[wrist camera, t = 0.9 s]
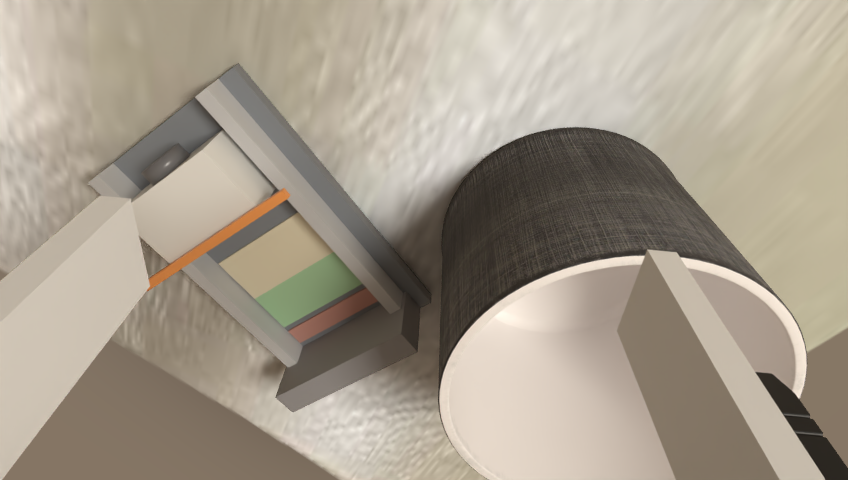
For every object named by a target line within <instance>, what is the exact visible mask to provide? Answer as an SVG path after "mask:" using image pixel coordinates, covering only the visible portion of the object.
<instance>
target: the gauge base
mask: <svg viewBox="0 0 848 480" xmlns="http://www.w3.org/2000/svg"><path fill="white" fill-rule="evenodd" d="M222 129H224V130H225V131H226V132H227V133H228V134H229V135H230V137H231V138H232V139H233V140H234V141H235V142H236V143H237V144H238V145H239V147H240V148H241V149H242V150H243V151H244V152H245V153H246V154H247V156H248V157H249V158H250V159H251V160H252V161H253V162H254V163H255V164H256V166H257V167H258V168H259V169H260V170H261V171H262V172H263V173H264V174H265V176H266V177H267V178H268V179H269V180H270V181H271V182H272V183H273V184H274V186H275V187H276V188H275V190H274V191H273V193H272V194H271V196H272V195H274V194H275V193H277V192H278V191H280V190H281V189H283V188H285V189H286V190H287V192H288V193H289V194H290V197H289V198H288V199H287V200H285V201H283V202H282V203H280V204H279V205H277V206H276V207H274V208H273V209H271V210H270V211H268V212H267V213H265V214H264V215H262V216H261V217H259V218H258V219H256V220H255V221H253V222H252V223H250V224H249V225H247V226H246V227H244V228H243V229H241V230H240V231H238V232H237V233H235V234H233V235H232V236H230V237H229V238H227V239H226V240H224V241H223V242H221V243H220V244H218V245H217V246H215V247H214V248H212V249H211V250H209V251H208V252H206V253H205V254H203V255H202V256H200V257H199V258H197V259H196V260H194V261H193V262H191V263H190V264H188V265H187V266H185V267H183V268H182V270H183V271H184V272H185V273H186V274H187V275H188V276H189V277H190V278H191V279H192V280H193V281H195V282H196V283H197V284H198V285H199V286H200V287H201V288H202V289H203V290H204V291H205V292H206V293H208V294H209V295H210V296H211V297H212V298H213V299H214V300H215V301H216V302H217V303H218V304H219V305H221V306H222V307H223V308H224V309H225V310H226V311H227V312H228V313H229V314H230V315H231V316H233V317H234V318H235V319H236V320H237V321H238V322H239V323H240V324H241V325H242V326H243V327H244V328H246V329H247V330H248V331H249V332H250V333H251V334H252V335H253V336H254V337H255V338H256V339H257V340H259V341H260V342H261V343H262V344H263V345H264V346H265V347H266V348H267V349H268V350H269V351H270V352H272V353H273V354H274V355H275V356H276V357H277V358H278V359H279V360H280V361H281V362H282V363H283V364H285V365H286V369H285V372H284V375H283V378H282V380H281V383H280V386H279V389H278V392H277V395H276V398H277V399H278V400H279V401H280V402H281V403H282V404H284V405H285V406H286V407H287V408H288V409H289V410H290V411H292V412H295V411H297V410H299V409H301V408H303V407H305V406H307V405H309V404H311V403H313V402H315V401H317V400H319V399H321V398H323V397H325V396H328V395H330V394H332V393H334V392H336V391H338V390H340V389H342V388H344V387H346V386H348V385H350V384H352V383H354V382H356V381H358V380H360V379H362V378H364V377H367V376H369V375H371V374H373V373H375V372H377V371H379V370H381V369H383V368H385V367H387V366H389V365H391V364H393V363H395V362H397V361H399V360H401V359H403V358H406V357H408V356H410V355H412V354H414V353H416V352H417V350H418V336H419V321H420V308H421V307H423V306H425V305H427V304H429V303H431V294H430V293H429V292H428V290H427V289H426V288H425V287H424V286H423V284H422V283H421V282H420V281H419V280H418V278H417V277H416V276H415V275H414V274H413V272H412V271H411V270H410V269H409V268H408V266H407V265H406V264H405V263H404V262H403V260H402V259H401V258H400V257H399V256H398V254H397V253H396V252H395V251H394V250H393V248H392V247H391V246H390V245H389V244H388V242H387V241H386V240H385V239H384V238H383V236H382V235H381V234H380V233H379V232H378V230H377V229H376V228H375V227H374V226H373V224H372V223H371V222H370V221H369V220H368V218H367V217H366V216H365V215H364V214H363V212H362V211H361V210H360V209H359V208H358V206H357V205H356V204H355V203H354V202H353V200H352V199H351V198H350V197H349V196H348V194H347V193H346V192H345V191H344V190H343V188H342V187H341V186H340V185H339V183H338V182H337V181H336V180H335V179H334V177H333V176H332V175H331V174H330V173H329V171H328V170H327V169H326V168H325V167H324V165H323V164H322V163H321V162H320V161H319V159H318V158H317V157H316V156H315V155H314V153H313V152H312V151H311V150H310V149H309V147H308V146H307V145H306V144H305V143H304V141H303V140H302V139H301V138H300V137H299V135H298V134H297V133H296V132H295V131H294V129H293V128H292V127H291V126H290V125H289V123H288V122H287V121H286V120H285V119H284V117H283V116H282V115H281V114H280V113H279V111H278V110H277V109H276V108H275V107H274V105H273V104H272V103H271V102H270V101H269V99H268V98H267V97H266V96H265V95H264V93H263V92H262V91H261V90H260V89H259V87H258V86H257V85H256V84H255V83H254V81H253V80H252V79H251V78H250V77H249V75H248V74H247V73H246V72H245V71H244V69H243V68H242V67H241V66H240V65H239V63H238V64H237V65H235V66H234V67H233V68H231V69H230V70H229V71H228V72H226V73H225V74H224V75H223V76H221V77H220V78H219V79H217V80H216V81H215V82H213V83H212V84H211V85H209V86H208V87H207V88H205V89H204V90H203V91H202V92H200V93H199V94H198V95H197V96H195V98H194V99H193V100H191V101H190V102H189V103H188V104H186V105H185V106H184V107H183V108H181V109H180V110H179V111H178V112H176V113H175V114H174V115H173V116H171V117H170V118H169V119H168V120H166V121H165V122H164V123H163V124H161V125H160V126H159V127H158V128H156V129H155V130H154V131H153V132H151V133H150V134H149V135H148V136H146V137H145V138H144V139H143V140H141V141H140V142H139V143H138V144H136V145H135V146H134V147H133V148H131V149H130V150H129V151H128V152H126V153H125V154H124V155H123V156H121V157H120V158H119V159H118V160H116V161H115V162H114V163H113V164H111V165H110V166H109V167H107V168H106V169H105V170H103V171H102V172H101V173H99V174H98V175H97V176H96V177H94V178H93V179H92V180H91V181H89V182H88V184H89V185H91V186H92V187H93V188H94V189H95V190H96V191H97V192H98V193H99V194H100V195H101V196H109V197H119V198H129V199H131V200H132V199H134V198H135V197H136V196H137V195H138V194H139V193H140V192H141V191H142V190H143V189H144V188H145V187H147V186H148V185H149V184H151V183H150V182H149V181H148V180H147V179H146V178H145V177H144V176H143V175H142V174H141V173H142V172H143V171H144V170H145V169H146V168H147V167H149V166H150V165H151V164H152V163H153V162H155V161H156V160H157V159H158V158H160V157H161V156H162V155H163V154H165V153H166V152H167V151H168V150H170V149H171V148H172V147H174V146H175V145H176V144H178V143H179V144H180V145H181V146H182V147H183V148H184V149H185V150H186V151H187V152H188V154H190V153H192V152H193V151H194V150H196V149H197V148H198V147H200V146H201V145H202V144H204V143H205V142H206V141H208V140H209V139H210V138H212V137H213V136H214V135H216V134H217V133H218V132H220V131H221V130H222ZM271 196H270V197H271Z"/></svg>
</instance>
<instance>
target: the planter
mask: <svg viewBox="0 0 848 480" xmlns="http://www.w3.org/2000/svg"><path fill="white" fill-rule="evenodd" d="M647 249H648V250H658V251H668V252H677V253H678V255H679V256H680V258H681V259H682V261H683V263H684V264H685V266H686V267H687V269H688V270H689V272H690V273H691V275H692V276H693V278H694V279H695V281H696V282H697V284H698V285H699V287H700V289H701V290H702V292H703V293H704V295H705V296H706V298H707V299H708V301H709V302H710V304H711V305H712V307H713V308H714V310H715V311H716V313H717V315H718V316H719V318H720V319H721V321H722V322H723V324H724V325H725V327H726V328H727V330H728V331H729V333H730V334H731V336H732V337H733V339H734V341H735V342H736V344H737V345H738V347H739V348H740V350H741V351H742V353H743V354H744V356H745V357H746V359H747V360H748V362H749V363H750V365H751V367H752V368H753V370H754V371H755V372H762V373H772V374H773V375H774V376H775V377H777V378H778V379H779V380H780V381H781V382H782V383H784V384H785V385H786V386H787V387H788V388H789V389H791V390H792V391H793V392H794V393H795V394H796V396H797V397H798V398H799V399H800V397H801V395H802V391H803V388H804V385H805V380H806V375H807V374H806V373H807V352H806V346H805V341H804V338H803V335H802V332H801V330H800V328H799V325H798V323H797V321H796V320H795V318H794V317H793V315H792V313H791V312H790V311H789V309H788V308H787V307H786V306H785V304H784V303H783V302H782V301H781V300H780V298H779V297H778V296H777V295H776V294H775V293H774V291H773V290H772V289H771V288H770V287H769V286H768V284H767V283H766V282H765V281H764V280H763V279H762V278H761V276H760V275H759V274H758V273H757V272H756V271H755V269H754V268H753V267H752V266H751V265H750V264H749V262H748V261H747V260H746V259H745V258H744V257H743V256H742V254H741V253H740V252H739V251H738V250H737V249H736V247H735V246H734V245H733V244H732V243H731V242H730V240H729V239H728V238H727V237H726V236H725V235H724V234H723V232H722V231H721V230H720V229H719V228H718V227H717V225H716V224H715V223H714V222H713V221H712V220H711V219H710V217H709V216H708V215H707V214H706V213H705V212H704V210H703V209H702V208H701V207H700V206H699V205H698V204H697V203H696V201H695V200H694V199H693V198H692V197H691V196H690V195H689V194H688V192H687V191H686V190H685V189H684V188H683V187H682V185H681V184H680V183H679V182H678V181H677V180H676V178H675V176H674V175H673V174H672V172H671V171H670V170H669V168H668V167H667V166H666V165H665V164H664V163H663V162H662V161H661V160H660V158H659V157H657V156H656V155H655V154H654V153H653V152H652V151H650V150H649V149H647V148H646V147H645V146H643V145H641V144H640V143H638V142H636V141H634V140H632V139H630V138H628V137H625V136H622V135H620V134H617V133H613V132H610V131H605V130H600V129H593V128H576V127H575V128H561V129H553V130H548V131H543V132H539V133H536V134H532V135H529V136H526V137H523V138H521V139H519V140H516V141H514V142H512V143H510V144H508V145H506V146H504V147H503V148H501V149H499V150H498V151H496V152H494V153H493V154H492V155H490V156H489V157H488V158H486V159H485V160H484V161H483V162H481V163H480V164H479V165H478V166H477V167H476V168H475V169H474V170H473V171H472V172H471V173H470V174H469V175H468V176H467V178H466V179H465V180H464V181H463V183H462V184H461V185H460V187H459V188H458V190H457V192H456V193H455V195H454V197H453V199H452V201H451V203H450V205H449V208H448V210H447V213H446V216H445V220H444V225H443V232H442V257H443V259H442V289H441V321H440V355H439V391H438V403H439V412H440V418H441V421H442V424H443V428H444V430H445V432H446V435H447V437H448V439H449V440H450V442H451V444H452V445H453V447H454V448H455V450H456V451H457V453H458V454H459V455H460V456H461V457H462V458H463V460H464V461H465V462H466V463H467V464H468V465H469V466H471V467H472V468H473V469H474V470H475V471H476V472H478V473H479V474H481V475H482V476H483V477H485V478H486V479H488V480H676V479H675V476H674V474H673V471H672V469H671V466H670V464H669V461H668V459H667V456H666V454H665V451H664V449H663V446H662V443H661V441H660V438H659V436H658V433H657V431H656V428H655V426H654V423H653V421H652V418H651V416H650V413H649V411H648V408H647V406H646V403H645V401H644V398H643V395H642V393H641V390H640V388H639V385H638V383H637V380H636V378H635V375H634V373H633V370H632V368H631V365H630V363H629V360H628V358H627V355H626V353H625V350H624V347H623V345H622V342H621V340H620V337H619V335H618V332H617V329H618V326H619V323H620V321H621V318H622V315H623V313H624V310H625V307H626V305H627V302H628V299H629V297H630V294H631V292H632V289H633V286H634V284H635V281H636V278H637V276H638V273H639V270H640V268H641V265H642V262H643V260H644V257H645V254H646V252H647Z"/></svg>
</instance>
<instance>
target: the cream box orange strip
mask: <svg viewBox="0 0 848 480" xmlns="http://www.w3.org/2000/svg"><path fill="white" fill-rule="evenodd" d="M141 174H142V175H143V176H144V177H145V178H146V179H147V180H148V181H149V182H150V183H151V184H149V185H148V186H147V187H145V188H144V189H143V190H142V191H141V192H140V193H139V194H138V195H137V196H136V197H135V198H134V199H132V200H131V202H132V207H133V211H134V216H135V220H136V225H137V229H138V234H139V236H140V237H141V238H142V239H143V240H144V241H145V242H146V243H147V244H148V245H150V246H151V247H152V248H153V249H154V250H155V251H156V252H157V253H158V254H159V255H160V256H162V257H163V258H164V259H165V260H166V261H167V262H168V263H169V265H168V266H166V267H165V268H163V269H162V270H160V271H159V272H157V273H156V274H154V275H153V276H151V277H150V278H148V279H149V283H150V287H149V288H148V290H147V291H149V290H150V289H152V288H153V287H155V286H156V285H158V284H159V283H161V282H162V281H164V280H165V279H167V278H168V277H170V276H171V275H173V274H174V273H176V272H177V271H179V270H180V269H182V268H183V267H185V266H187V265H188V264H190V263H191V262H193V261H194V260H196V259H197V258H199V257H200V256H202V255H203V254H205V253H206V252H208V251H209V250H211V249H212V248H214V247H215V246H217V245H218V244H220V243H221V242H223V241H224V240H226V239H227V238H229V237H230V236H232V235H233V234H235V233H237V232H238V231H240V230H241V229H243V228H244V227H246V226H247V225H249V224H250V223H252V222H253V221H255V220H256V219H258V218H259V217H261V216H262V215H264V214H265V213H267V212H268V211H270V210H271V209H273V208H274V207H276V206H277V205H279V204H280V203H282V202H283V201H285V200H287V199H288V198H289V197H290V194H289V193H288V192H287V190H286V189H285V188H283V189H281V190H280V191H278V192H277V193H275V194H274V195H272V196H271V194H272V193H273V191H274V190H275V188H276V187H275V186H274V184H273V183H272V182H271V181H270V180H269V179H268V178H267V177H266V176H265V174H264V173H263V172H262V171H261V170H260V169H259V168H258V167H257V166H256V164H255V163H254V162H253V161H252V160H251V159H250V158H249V157H248V156H247V154H246V153H245V152H244V151H243V150H242V149H241V148H240V147H239V145H238V144H237V143H236V142H235V141H234V140H233V139H232V138H231V137H230V135H229V134H228V133H227V132H226V131H225V130H224V129H222V130H221V131H220V132H218V133H217V134H216V135H214V136H213V137H212V138H210V139H209V140H208V141H206V142H205V143H204V144H202V145H201V146H200V147H198V148H197V149H196V150H194V151H193V152H192V153H190V154H188V152H187V151H186V150H185V149H184V148H183V147H182V146H181V145H180V144H179V143H178V144H176V145H175V146H174V147H172V148H171V149H170V150H168V151H167V152H166V153H165V154H163V155H162V156H161V157H160V158H158V159H157V160H156V161H155V162H153V163H152V164H151V165H150V166H149V167H147V168H146V169H145V170H144V171H143V172H142V173H141ZM270 196H271V197H270Z"/></svg>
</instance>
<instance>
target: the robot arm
mask: <svg viewBox="0 0 848 480" xmlns="http://www.w3.org/2000/svg"><path fill="white" fill-rule="evenodd" d="M149 287H150V283H149V279H148V274H147V270H146V265H145V261H144V256H143V252H142V247H141V243H140V238H139V234H138V229H137V225H136V220H135V216H134V211H133V207H132V202H131V199H129V198H119V197H109V196H99V197H98V198H97V199H95V200H94V201H93V202H92V203H91V204H90V205H88V206H87V207H86V208H85V209H84V210H83V211H81V212H80V213H79V214H78V215H77V216H76V217H74V218H73V219H72V220H71V221H70V222H68V223H67V224H66V225H65V226H64V227H63V228H61V229H60V230H59V231H58V232H57V233H56V234H54V235H53V236H52V237H51V238H50V239H49V240H47V241H46V242H45V243H44V244H43V245H42V246H40V247H39V248H38V249H37V250H36V251H35V252H33V253H32V254H31V255H30V256H29V257H28V258H26V259H25V260H24V261H23V262H22V263H21V264H19V265H18V266H17V267H16V268H15V269H14V270H12V271H11V272H10V273H9V274H8V275H7V276H5V277H4V278H3V279H2V280H1V281H0V480H2V479H3V478H4V476H5V475H6V474H7V472H8V471H9V470H10V468H11V467H12V466H13V465H14V463H15V462H16V461H17V459H18V458H19V457H20V455H21V454H22V453H23V451H24V450H25V449H26V448H27V446H28V445H29V444H30V442H31V441H32V439H33V438H34V437H35V436H36V435H37V433H38V432H39V431H40V429H41V428H42V427H43V425H44V424H45V423H46V421H47V420H48V419H49V418H50V416H51V415H52V414H53V412H54V411H55V410H56V408H57V407H58V406H59V404H60V403H61V402H62V401H63V399H64V398H65V397H66V395H67V394H68V393H69V391H70V390H71V389H72V388H73V386H74V385H75V384H76V382H77V381H78V380H79V378H80V377H81V375H82V374H83V373H84V372H85V371H86V369H87V368H88V367H89V365H90V364H91V363H92V361H93V360H94V359H95V357H96V356H97V355H98V353H99V352H100V351H101V350H102V348H103V347H104V346H105V344H106V343H107V342H108V340H109V339H110V338H111V337H112V335H113V334H114V333H115V331H116V330H117V329H118V327H119V326H120V325H121V324H122V322H123V321H124V320H125V318H126V317H127V316H128V314H129V313H130V312H131V310H132V309H133V308H134V307H135V305H136V304H137V303H138V301H139V300H140V299H141V297H142V296H143V295H144V293H145V292H146V291H147V290H148V288H149ZM617 332H618V335H619V337H620V340H621V342H622V345H623V347H624V350H625V353H626V355H627V358H628V360H629V363H630V365H631V368H632V370H633V373H634V375H635V378H636V380H637V383H638V385H639V388H640V390H641V393H642V395H643V398H644V401H645V403H646V406H647V408H648V411H649V413H650V416H651V418H652V421H653V423H654V426H655V428H656V431H657V433H658V436H659V438H660V441H661V443H662V446H663V449H664V451H665V454H666V456H667V459H668V461H669V464H670V466H671V469H672V471H673V474H674V476H675V479H676V480H848V468H847V466H846V465H845V464H844V463H843V461H842V459H841V458H840V456H839V455H838V454H837V452H836V451H835V449H834V448H833V447H832V445H831V444H830V442H829V441H828V440H827V438H825V437H823V435H822V434H823V432H822V431H821V430H820V428H819V427H818V425H817V424H816V422H815V421H814V420H813V419H810V414H809V413H808V411H807V410H806V408H805V407H804V406H803V404H802V403H801V401H800V400H799V398H798V397H797V396H796V394H795V393H794V392H793V391H792V390H791V389H789V388H788V387H787V386H786V385H785V384H784V383H782V382H781V381H780V380H779V379H778V378H777V377H775V376H774V375H773V374H772V373H762V372H755V371H754V370H753V368H752V367H751V365H750V363H749V362H748V360H747V359H746V357H745V356H744V354H743V353H742V351H741V350H740V348H739V347H738V345H737V344H736V342H735V341H734V339H733V337H732V336H731V334H730V333H729V331H728V330H727V328H726V327H725V325H724V324H723V322H722V321H721V319H720V318H719V316H718V315H717V313H716V311H715V310H714V308H713V307H712V305H711V304H710V302H709V301H708V299H707V298H706V296H705V295H704V293H703V292H702V290H701V289H700V287H699V285H698V284H697V282H696V281H695V279H694V278H693V276H692V275H691V273H690V272H689V270H688V269H687V267H686V266H685V264H684V263H683V261H682V259H681V258H680V256H679V255H678V253H677V252H668V251H658V250H648V249H647V252H646V254H645V257H644V260H643V262H642V265H641V268H640V270H639V273H638V276H637V278H636V281H635V284H634V286H633V289H632V292H631V294H630V297H629V299H628V302H627V305H626V307H625V310H624V313H623V315H622V318H621V321H620V323H619V326H618V329H617Z"/></svg>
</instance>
